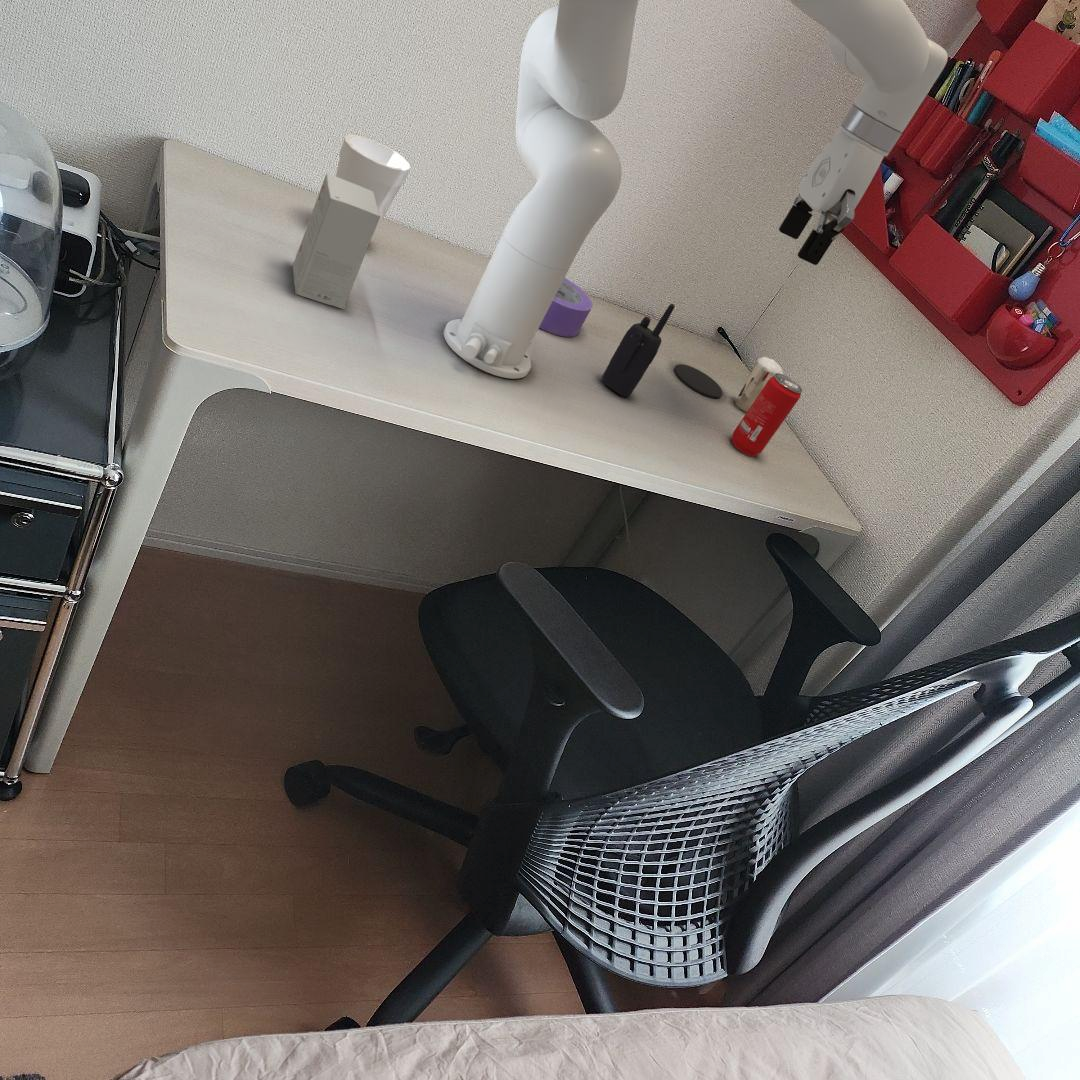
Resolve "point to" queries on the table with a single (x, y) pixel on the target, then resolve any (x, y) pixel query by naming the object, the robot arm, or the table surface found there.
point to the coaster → (698, 381)
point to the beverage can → (766, 414)
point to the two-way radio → (634, 355)
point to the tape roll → (567, 310)
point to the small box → (335, 241)
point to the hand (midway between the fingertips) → (796, 247)
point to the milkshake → (757, 382)
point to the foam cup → (372, 169)
